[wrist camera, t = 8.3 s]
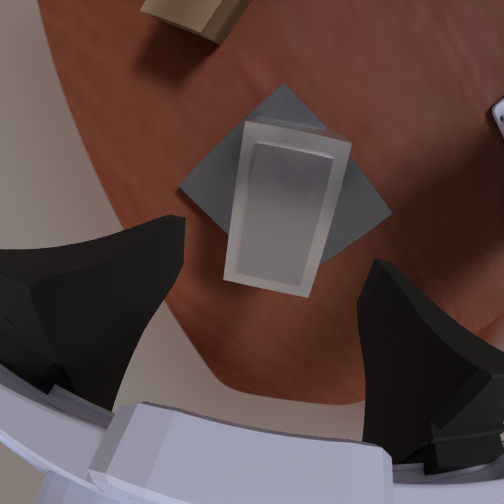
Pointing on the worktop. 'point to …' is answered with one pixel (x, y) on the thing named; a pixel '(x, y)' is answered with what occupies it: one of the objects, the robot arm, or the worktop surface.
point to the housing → (283, 203)
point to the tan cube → (199, 15)
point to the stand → (226, 167)
